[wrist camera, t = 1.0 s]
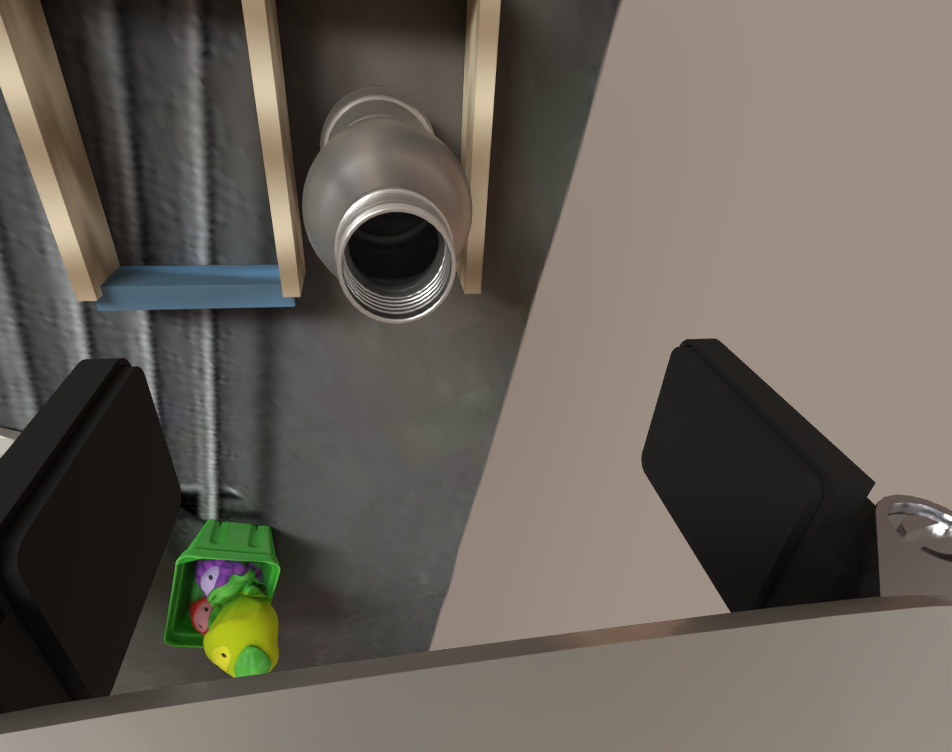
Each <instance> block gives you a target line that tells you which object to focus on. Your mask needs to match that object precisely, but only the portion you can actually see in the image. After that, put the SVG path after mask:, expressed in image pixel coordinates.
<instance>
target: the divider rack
mask: <svg viewBox="0 0 952 752" xmlns="http://www.w3.org/2000/svg"><path fill="white" fill-rule="evenodd" d="M241 1H242V8H243V15H244V22H245V29H246V36H247V43H248V51H249V58H250V65H251V72H252V79H253V86H254V93H255V101H256V108H257V115H258V122H259V129H260V136H261V143H262V151H263V158H264V165H265V172H266V179H267V186H268V193H269V201H270V208H271V215H272V222H273V229H274V236H275V243H276V251H277V258H278V265H182V266H120V263H119V260H118V257H117V253H116V250H115V247H114V243H113V240H112V237H111V233H110V230H109V227H108V224H107V220H106V217H105V214H104V210H103V207H102V204H101V200H100V197H99V194H98V190H97V187H96V184H95V180H94V177H93V174H92V171H91V167H90V164H89V161H88V157H87V154H86V151H85V147H84V144H83V141H82V137H81V134H80V131H79V128H78V124H77V121H76V118H75V114H74V111H73V108H72V104H71V101H70V98H69V94H68V91H67V88H66V85H65V81H64V78H63V75H62V71H61V68H60V65H59V61H58V58H57V55H56V51H55V48H54V45H53V41H52V38H51V35H50V32H49V28H48V25H47V22H46V18H45V15H44V12H43V8H42V5H41V2H40V0H0V86H1V89H2V92H3V95H4V98H5V100H6V103H7V106H8V109H9V111H10V114H11V117H12V120H13V123H14V125H15V128H16V131H17V134H18V137H19V139H20V142H21V145H22V148H23V150H24V153H25V156H26V159H27V162H28V164H29V167H30V170H31V173H32V176H33V178H34V181H35V184H36V187H37V189H38V192H39V195H40V198H41V201H42V203H43V206H44V209H45V212H46V215H47V217H48V220H49V223H50V226H51V229H52V231H53V234H54V237H55V240H56V242H57V245H58V248H59V251H60V254H61V256H62V259H63V262H64V265H65V268H66V270H67V273H68V276H69V279H70V281H71V284H72V287H73V290H74V293H75V295H76V298H77V301H95V302H96V305H97V308H98V311H112V310H159V309H206V308H253V307H295V305H296V300H297V297H301V292H302V288H303V283H304V278H305V273H306V268H305V260H304V251H303V242H302V233H301V224H300V215H299V206H298V197H297V189H296V180H295V171H294V162H293V153H292V144H291V135H290V127H289V118H288V109H287V100H286V91H285V82H284V73H283V64H282V56H281V47H280V38H279V29H278V20H277V11H276V2H275V0H241ZM500 5H501V0H467V16H466V40H465V64H464V88H463V112H462V136H461V160H460V165H461V166H462V168H463V170H464V172H465V174H466V177H467V180H468V183H469V186H470V190H471V197H472V205H473V209H472V224H471V228H470V232H469V236H468V240H467V242H466V245H465V247H464V249H463V251H462V254H461V256H460V258H459V260H458V261H457V262H456V272H457V274H458V277H459V279H460V282H461V285H462V287H463V290H464V292H465V294H481V281H482V266H483V252H484V237H485V223H486V208H487V194H488V179H489V164H490V150H491V135H492V121H493V106H494V92H495V77H496V63H497V48H498V34H499V19H500Z"/></svg>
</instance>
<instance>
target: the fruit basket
mask: <svg viewBox="0 0 952 752" xmlns="http://www.w3.org/2000/svg"><path fill="white" fill-rule="evenodd" d="M279 574H280V565H279V562H278V559H277V558H276V554H275V549H274V543H273V538H272V533H271V528H270V527H269V526H258V527H256V526H255V525H252V524H245V523H237V522H222V523H220V522H219V521H216V520H208V521H207V522H206V523H205V525H204V526H203V528H202V529H201V530H200V532H199V533H198V535H197V536H196V537H195V539H194V540H193V542H192V543H191V545H190V546H189V547H188V549H187V550H185V551H184V552H183V553H182V554H181V555H180V557H179V558H178V559H177V560H176V564H175V571H174V578H173V585H172V591H171V597H170V603H169V609H168V615H167V622H166V627H165V633H164V642H165V643H166V644H168V645H171V646H175V647H199V648H204V650H205V653H206V655H207V657H208V658H209V659H210V660H211V661H212V662H213V663H214V664H216V665H217V666H218V667H219V668H221V669H222V670H223V671H225V672H226V673H228V674H230V675H231V676H232V677H233V678H235V677H243V676H250V675H257V674H265V673H269V672H271V670H272V669H273V668H274V666H275V665H276V663H277V661H278V657H279V650H278V643H277V638H278V618H277V614H276V612H275V610H274V608H273V607H272V606H271V602H272V598H273V595H274V592H275V588H276V584H277V581H278V578H279Z"/></svg>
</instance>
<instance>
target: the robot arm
mask: <svg viewBox="0 0 952 752" xmlns="http://www.w3.org/2000/svg"><path fill="white" fill-rule="evenodd" d="M642 467H643V470H644V472H645V474H646V476H647V477H648V479H649V481H650V482H651V484H652V486H653V487H654V489H655V490H656V492H657V494H658V495H659V497H660V498H661V500H662V502H663V503H664V505H665V507H666V508H667V510H668V512H669V513H670V515H671V516H672V518H673V520H674V521H675V523H676V524H677V526H678V528H679V529H680V531H681V533H682V534H683V536H684V537H685V539H686V541H687V542H688V544H689V545H690V547H691V549H692V550H693V552H694V554H695V555H696V557H697V559H698V560H699V562H700V563H701V565H702V567H703V568H704V570H705V572H706V573H707V575H708V576H709V578H710V580H711V581H712V583H713V584H714V586H715V588H716V589H717V591H718V593H719V594H720V596H721V597H722V599H723V601H724V602H725V604H726V606H727V607H728V608H729V610H730V612H731V613H726V614H718V615H710V616H702V617H695V618H686V619H678V620H670V621H662V622H653V623H645V624H637V625H629V626H621V627H614V628H606V629H598V630H590V631H583V632H575V633H567V634H559V635H551V636H544V637H536V638H528V639H520V640H513V641H505V642H498V643H490V644H483V645H474V646H467V647H459V648H451V649H444V650H436V651H428V652H421V653H413V654H405V655H398V656H391V657H383V658H376V659H368V660H361V661H354V662H346V663H339V664H331V665H324V666H317V667H309V668H302V669H294V670H287V671H280V672H272V673H265V674H257V675H250V676H243V677H235V678H228V679H220V680H213V681H206V682H198V683H191V684H185V685H178V686H171V687H165V688H158V689H152V690H145V691H138V692H132V693H125V694H118V695H112V696H109V695H110V693H111V691H112V688H113V686H114V683H115V680H116V678H117V675H118V672H119V670H120V667H121V664H122V662H123V659H124V656H125V654H126V651H127V648H128V646H129V643H130V640H131V637H132V635H133V632H134V629H135V627H136V624H137V621H138V619H139V616H140V613H141V611H142V608H143V605H144V603H145V600H146V597H147V595H148V592H149V589H150V587H151V584H152V581H153V579H154V576H155V573H156V571H157V568H158V565H159V563H160V560H161V557H162V555H163V552H164V549H165V546H166V544H167V541H168V538H169V536H170V533H171V530H172V528H173V525H174V522H175V520H176V517H177V514H178V512H179V509H180V504H181V489H180V485H179V482H178V479H177V475H176V472H175V469H174V466H173V463H172V460H171V456H170V453H169V450H168V447H167V444H166V441H165V437H164V434H163V431H162V428H161V425H160V422H159V418H158V415H157V412H156V409H155V406H154V403H153V399H152V396H151V393H150V390H149V387H148V384H147V380H146V377H145V374H144V372H143V370H142V369H141V368H140V367H138V366H136V367H132V366H131V364H130V363H129V362H128V360H126V359H124V358H111V359H85V360H82V361H81V362H79V363H78V364H77V366H76V367H75V368H74V369H73V370H72V372H71V373H70V374H69V375H68V377H67V378H66V379H65V380H64V381H63V383H62V384H61V385H60V386H59V387H58V389H57V390H56V391H55V392H54V394H53V395H52V396H51V397H50V398H49V400H48V401H47V402H46V403H45V405H44V406H43V407H42V408H41V409H40V411H39V412H38V413H37V414H36V415H35V417H34V418H33V419H32V420H31V422H30V423H29V424H28V425H27V426H26V428H25V429H24V430H23V431H22V432H18V431H14V430H10V429H5V428H1V427H0V752H952V511H951V510H949V509H947V508H945V507H943V506H941V505H938V504H936V503H933V502H931V501H929V500H925V499H921V498H918V497H914V496H907V495H892V496H887V497H884V498H883V499H881V500H880V501H878V503H877V504H876V506H875V505H874V504H873V503H872V502H871V501H870V500H869V499H868V498H867V496H868V494H869V493H870V491H871V489H872V488H873V486H874V484H875V482H874V481H873V480H872V479H871V478H870V477H869V476H868V475H867V474H865V473H864V472H863V471H862V470H861V469H860V468H859V467H858V466H857V465H855V464H854V463H853V462H852V461H851V460H850V459H849V458H848V457H847V456H846V455H844V454H843V453H842V452H841V451H840V450H839V449H838V448H837V447H836V446H835V445H833V444H832V443H831V442H830V441H829V440H828V439H827V438H826V437H825V436H824V435H823V434H821V433H820V432H819V431H818V430H817V429H816V428H815V427H814V426H813V425H812V424H810V423H809V422H808V421H807V420H806V419H805V418H804V417H803V416H802V415H801V414H799V413H798V412H797V411H796V410H795V409H794V408H793V407H792V406H791V405H789V404H788V403H787V402H786V401H785V400H784V399H783V398H782V397H781V396H780V395H779V394H777V393H776V392H775V391H774V390H773V389H772V388H771V387H770V386H769V385H768V384H767V383H765V382H764V381H763V380H762V379H761V378H760V377H759V376H758V375H757V374H755V373H754V372H753V371H752V370H751V369H750V368H749V367H748V366H747V365H746V364H745V363H743V362H742V361H741V360H740V359H739V358H738V357H737V356H736V355H735V354H734V353H732V352H731V351H730V350H729V349H728V348H727V347H726V346H725V345H724V344H723V343H721V342H720V341H719V340H717V339H686V340H685V341H683V342H682V343H681V344H680V346H679V347H676V348H675V349H674V350H673V351H672V353H671V356H670V359H669V363H668V366H667V369H666V373H665V376H664V380H663V384H662V387H661V390H660V394H659V397H658V400H657V404H656V407H655V411H654V414H653V418H652V421H651V424H650V428H649V431H648V435H647V438H646V442H645V445H644V449H643V452H642Z"/></svg>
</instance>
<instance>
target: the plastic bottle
mask: <svg viewBox="0 0 952 752" xmlns="http://www.w3.org/2000/svg"><path fill="white" fill-rule="evenodd" d="M472 209H473V205H472V197H471V190H470V186H469V183H468V180H467V177H466V174H465V172H464V170H463V168H462V166H461V165H460V163H459V161H458V159H457V157H456V156H455V155H454V154H453V153H452V151H451V150H450V149H449V148H448V147H447V145H446V144H445V143H443V142H442V141H441V140H440V139H438V138H437V137H436V136H435V134H434V131H433V129H432V126H431V123H430V122H429V120H428V118H427V116H426V114H425V113H424V112H423V110H422V109H421V108H420V107H419V106H418V104H417V103H416V102H414V101H413V100H412V99H411V98H409V97H408V96H407V95H405V94H403V93H401V92H399V91H397V90H395V89H391V88H388V87H384V86H369V87H363V88H359V89H357V90H354V91H352V92H350V93H348V94H347V95H345V96H344V97H343V98H341V99H340V100H339V101H338V102H337V103H336V104H335V105H334V107H333V108H332V109H331V110H330V112H329V114H328V116H327V118H326V120H325V122H324V125H323V129H322V132H321V140H320V152H319V153H318V154H317V156H316V158H315V160H314V162H313V164H312V165H311V167H310V169H309V171H308V175H307V178H306V181H305V185H304V189H303V200H302V210H303V220H304V225H305V229H306V232H307V235H308V238H309V241H310V243H311V245H312V247H313V249H314V250H315V252H316V254H317V256H318V257H319V258H320V260H321V261H322V262H323V263H324V265H325V266H326V267H327V268H328V270H329V271H330V272H331V273H332V274H333V275H334V276H335V277H337V278H338V279H339V282H340V285H341V288H342V290H343V292H344V293H345V295H346V297H347V298H348V300H349V301H350V302H351V303H352V305H353V306H354V307H355V308H357V309H358V310H359V311H360V312H361V313H363V314H364V315H366V316H368V317H370V318H371V319H374V320H377V321H380V322H384V323H390V324H404V323H409V322H414V321H417V320H419V319H421V318H424V317H426V316H427V315H429V314H430V313H432V312H433V311H435V310H436V309H437V308H438V307H439V306H440V305H441V304H442V303H443V301H444V300H445V299H446V297H447V296H448V294H449V292H450V290H451V288H452V286H453V283H454V279H455V275H456V262H457V261H458V260H459V258H460V256H461V254H462V251H463V249H464V247H465V245H466V242H467V240H468V236H469V232H470V228H471V224H472Z"/></svg>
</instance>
